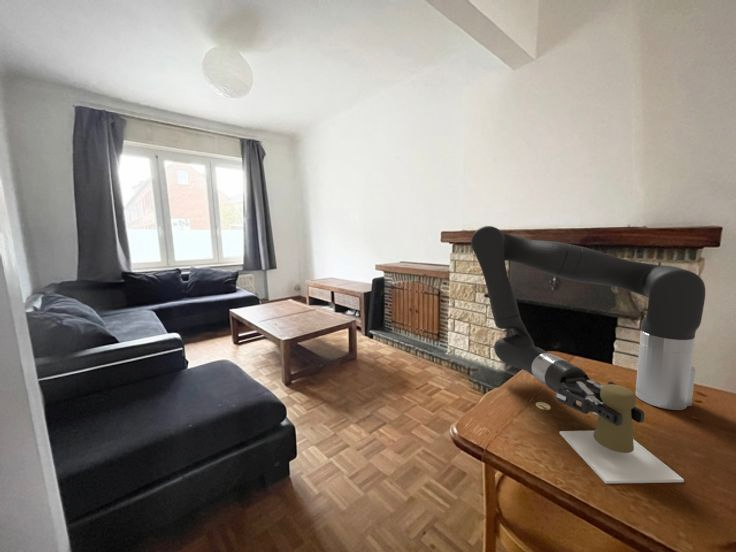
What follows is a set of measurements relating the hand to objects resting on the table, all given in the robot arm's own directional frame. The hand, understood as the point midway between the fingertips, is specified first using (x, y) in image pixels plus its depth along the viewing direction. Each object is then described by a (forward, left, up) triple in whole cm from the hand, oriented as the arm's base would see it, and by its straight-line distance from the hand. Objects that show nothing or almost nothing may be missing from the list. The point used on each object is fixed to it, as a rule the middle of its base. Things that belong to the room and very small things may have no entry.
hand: (631, 419), depth 54 cm
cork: (+1, -3, -7) cm, 7 cm away
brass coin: (+5, -19, -10) cm, 22 cm away
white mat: (0, -3, -9) cm, 10 cm away
